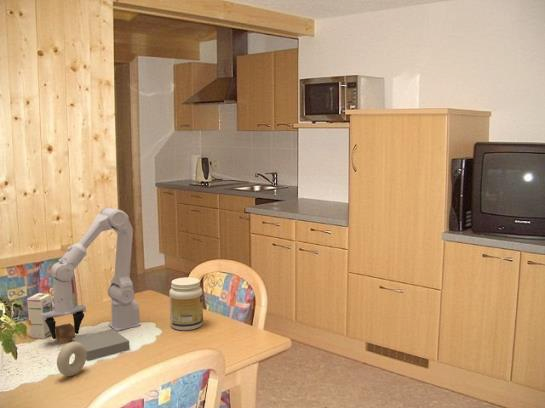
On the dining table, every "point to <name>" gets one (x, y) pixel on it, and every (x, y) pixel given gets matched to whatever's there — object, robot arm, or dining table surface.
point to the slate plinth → (103, 343)
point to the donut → (65, 356)
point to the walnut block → (64, 333)
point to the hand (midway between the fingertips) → (65, 335)
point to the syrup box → (39, 314)
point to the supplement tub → (186, 304)
